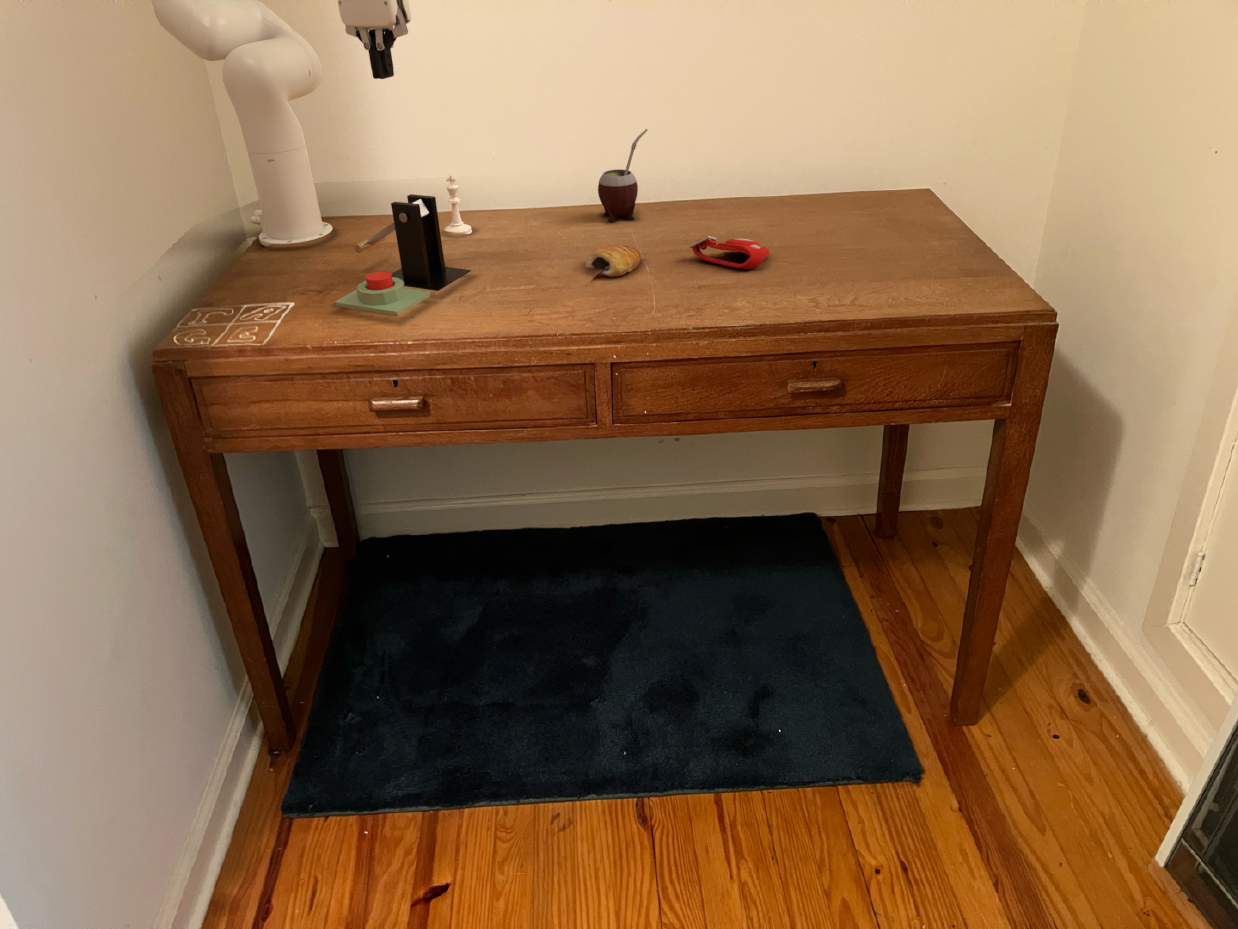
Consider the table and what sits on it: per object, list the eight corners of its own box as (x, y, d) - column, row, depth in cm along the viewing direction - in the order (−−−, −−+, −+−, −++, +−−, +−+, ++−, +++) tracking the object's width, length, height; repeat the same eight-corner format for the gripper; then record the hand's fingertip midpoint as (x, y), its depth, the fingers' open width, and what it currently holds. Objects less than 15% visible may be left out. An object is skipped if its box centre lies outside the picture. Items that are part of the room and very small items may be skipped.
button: (362, 290, 130) (360, 278, 129) (378, 281, 133) (376, 269, 132) (383, 293, 129) (381, 281, 128) (398, 284, 132) (396, 272, 131)
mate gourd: (592, 220, 164) (587, 134, 157) (615, 208, 170) (612, 124, 162) (627, 226, 161) (624, 138, 153) (649, 213, 167) (648, 128, 159)
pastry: (617, 255, 148) (616, 232, 146) (651, 263, 145) (651, 239, 143) (582, 273, 142) (581, 249, 140) (618, 281, 138) (617, 257, 136)
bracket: (378, 288, 139) (363, 204, 132) (413, 269, 146) (400, 188, 139) (439, 297, 135) (426, 211, 128) (471, 277, 142) (461, 194, 135)
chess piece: (466, 237, 159) (459, 178, 154) (440, 236, 160) (432, 178, 154) (476, 228, 163) (469, 171, 158) (450, 227, 164) (442, 170, 159)
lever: (359, 257, 140) (350, 243, 139) (383, 245, 144) (374, 231, 143) (413, 221, 132) (404, 206, 131) (437, 209, 136) (428, 194, 136)
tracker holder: (754, 240, 149) (784, 243, 140) (750, 267, 150) (780, 272, 141) (686, 232, 144) (713, 234, 135) (683, 260, 146) (709, 265, 137)
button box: (336, 312, 131) (331, 289, 130) (370, 293, 138) (366, 271, 136) (399, 323, 127) (394, 299, 126) (431, 302, 134) (428, 279, 132)
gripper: (420, -63, 131) (438, 75, 141) (337, -61, 136) (360, 71, 146) (388, -60, 125) (409, 83, 135) (303, -58, 131) (329, 79, 140)
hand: (383, 77), depth 140 cm, fingers closed
